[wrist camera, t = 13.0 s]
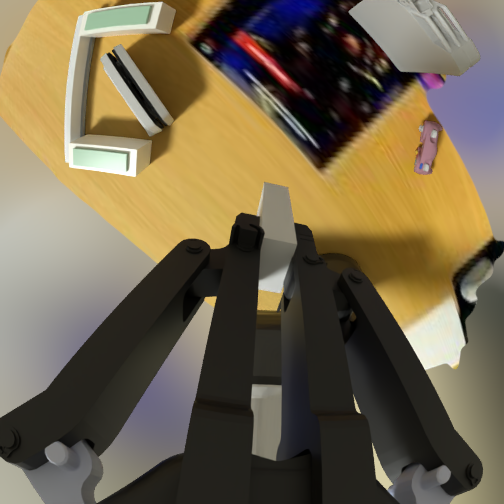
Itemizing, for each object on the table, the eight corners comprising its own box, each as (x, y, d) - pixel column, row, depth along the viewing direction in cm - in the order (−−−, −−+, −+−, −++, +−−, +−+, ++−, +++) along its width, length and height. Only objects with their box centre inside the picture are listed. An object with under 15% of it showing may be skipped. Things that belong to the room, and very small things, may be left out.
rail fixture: (149, 164, 43) (133, 178, 38) (76, 155, 42) (56, 167, 37) (176, 10, 27) (161, 0, 22) (91, 17, 26) (69, 14, 20)
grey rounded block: (104, 68, 32) (86, 55, 24) (127, 52, 32) (114, 35, 24) (152, 138, 41) (143, 140, 32) (175, 122, 40) (172, 119, 32)
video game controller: (419, 116, 36) (422, 117, 31) (442, 124, 34) (448, 127, 29) (408, 165, 42) (409, 174, 37) (430, 174, 40) (434, 184, 35)
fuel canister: (334, 1, 25) (401, -63, 5) (355, -12, 23) (431, -71, 3) (398, 72, 31) (509, 87, 11) (417, 58, 29) (528, 68, 8)
